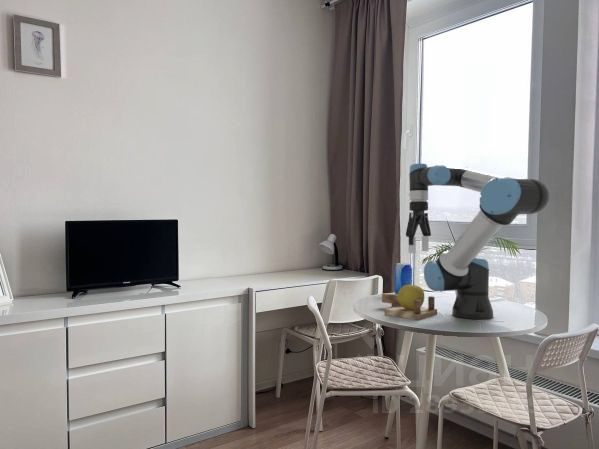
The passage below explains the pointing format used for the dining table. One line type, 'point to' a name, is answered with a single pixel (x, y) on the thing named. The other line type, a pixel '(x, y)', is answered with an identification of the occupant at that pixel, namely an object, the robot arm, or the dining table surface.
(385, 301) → the hinge leg
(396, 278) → the beer can
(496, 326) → the dining table surface
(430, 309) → the stool seat
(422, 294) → the fruit
